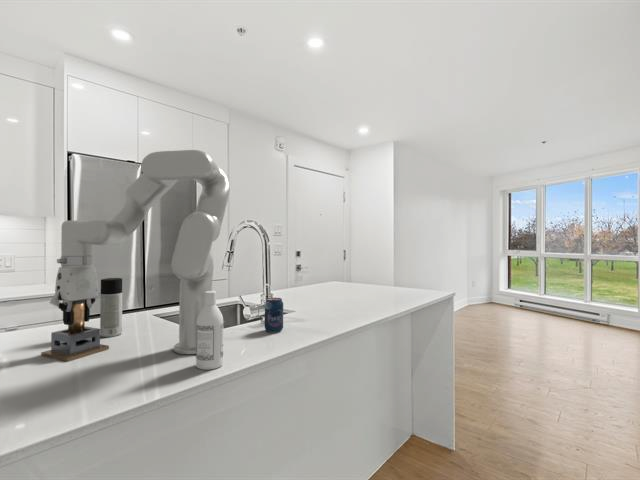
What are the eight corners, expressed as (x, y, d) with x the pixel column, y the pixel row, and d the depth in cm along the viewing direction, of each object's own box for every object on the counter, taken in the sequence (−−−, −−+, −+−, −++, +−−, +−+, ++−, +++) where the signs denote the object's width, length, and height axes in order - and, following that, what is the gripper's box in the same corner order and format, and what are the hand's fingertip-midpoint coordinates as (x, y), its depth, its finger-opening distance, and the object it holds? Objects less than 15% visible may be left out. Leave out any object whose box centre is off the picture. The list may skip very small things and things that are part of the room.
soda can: (268, 334, 123) (269, 301, 123) (261, 329, 129) (262, 298, 129) (286, 331, 126) (286, 299, 127) (278, 327, 132) (278, 296, 132)
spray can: (126, 332, 124) (126, 277, 124) (113, 338, 117) (113, 280, 117) (109, 332, 124) (109, 277, 124) (95, 337, 118) (95, 279, 118)
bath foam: (213, 359, 97) (214, 289, 97) (228, 365, 92) (228, 291, 92) (191, 366, 91) (191, 291, 91) (205, 372, 87) (205, 294, 87)
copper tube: (87, 332, 103) (88, 295, 103) (73, 335, 99) (73, 298, 99) (79, 330, 105) (79, 295, 105) (64, 334, 101) (64, 297, 101)
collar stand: (108, 349, 105) (109, 328, 105) (67, 361, 94) (67, 338, 94) (83, 344, 110) (83, 324, 110) (41, 355, 99) (41, 333, 99)
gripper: (54, 263, 93) (53, 331, 93) (111, 260, 108) (111, 318, 108) (37, 263, 96) (36, 328, 96) (96, 260, 111) (95, 316, 111)
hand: (76, 322), depth 102 cm, fingers closed on copper tube, 4 cm apart
